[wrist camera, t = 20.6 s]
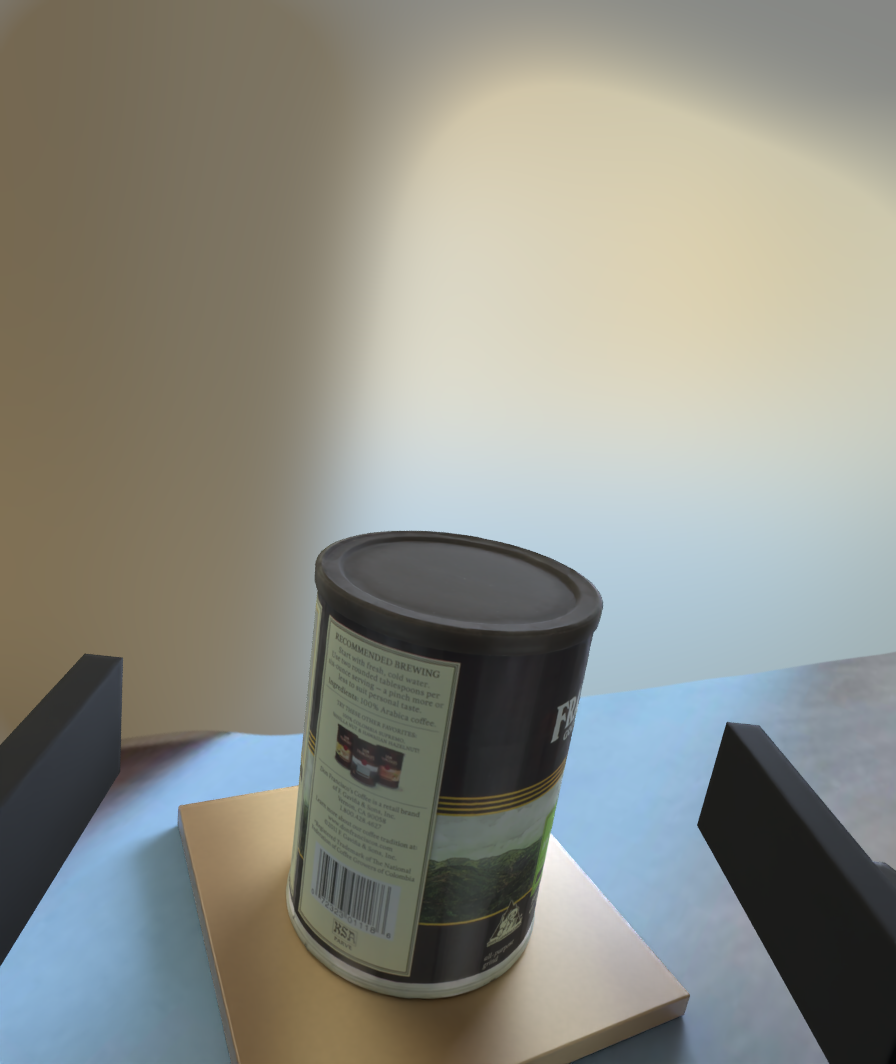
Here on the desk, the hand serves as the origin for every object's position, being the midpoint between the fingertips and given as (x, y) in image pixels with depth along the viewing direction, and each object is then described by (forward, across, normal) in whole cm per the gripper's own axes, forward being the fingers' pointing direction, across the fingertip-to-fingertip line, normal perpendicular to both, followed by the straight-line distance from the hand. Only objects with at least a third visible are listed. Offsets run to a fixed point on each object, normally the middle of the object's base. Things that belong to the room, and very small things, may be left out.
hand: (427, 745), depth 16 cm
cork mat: (+11, +2, -15) cm, 19 cm away
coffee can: (+11, +2, -14) cm, 18 cm away
